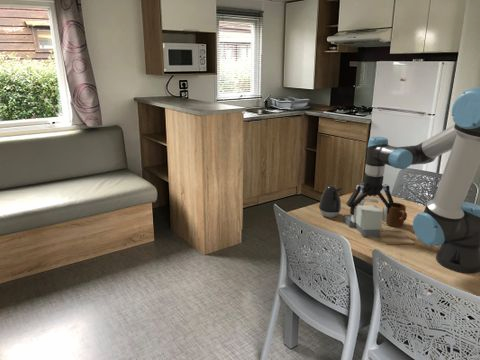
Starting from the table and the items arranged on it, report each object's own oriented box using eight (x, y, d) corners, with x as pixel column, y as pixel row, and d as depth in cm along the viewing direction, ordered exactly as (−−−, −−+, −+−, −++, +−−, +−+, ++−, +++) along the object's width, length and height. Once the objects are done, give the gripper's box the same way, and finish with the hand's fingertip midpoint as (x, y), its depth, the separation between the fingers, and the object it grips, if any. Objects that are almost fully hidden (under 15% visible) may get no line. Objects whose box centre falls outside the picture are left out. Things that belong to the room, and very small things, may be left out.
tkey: (374, 214, 177) (378, 182, 172) (377, 220, 169) (381, 188, 165) (357, 212, 178) (360, 181, 174) (358, 219, 171) (362, 186, 166)
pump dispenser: (342, 219, 180) (345, 189, 175) (320, 219, 180) (322, 188, 176) (337, 211, 190) (340, 182, 185) (316, 211, 190) (319, 182, 185)
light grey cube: (381, 229, 162) (383, 211, 160) (362, 229, 161) (364, 212, 159) (373, 222, 170) (375, 205, 167) (355, 222, 169) (357, 205, 167)
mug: (411, 231, 168) (414, 211, 165) (395, 232, 167) (398, 212, 164) (398, 221, 179) (400, 202, 176) (382, 221, 178) (385, 202, 176)
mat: (415, 244, 156) (415, 243, 156) (386, 244, 155) (387, 244, 155) (401, 231, 167) (401, 231, 167) (374, 232, 166) (374, 231, 166)
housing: (385, 236, 162) (386, 229, 161) (358, 237, 161) (359, 229, 160) (368, 220, 180) (369, 212, 179) (343, 220, 179) (344, 213, 178)
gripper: (398, 171, 163) (392, 217, 170) (341, 172, 161) (337, 218, 168) (407, 176, 156) (400, 224, 163) (348, 177, 154) (343, 225, 161)
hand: (368, 221), depth 165 cm, fingers open, 13 cm apart
